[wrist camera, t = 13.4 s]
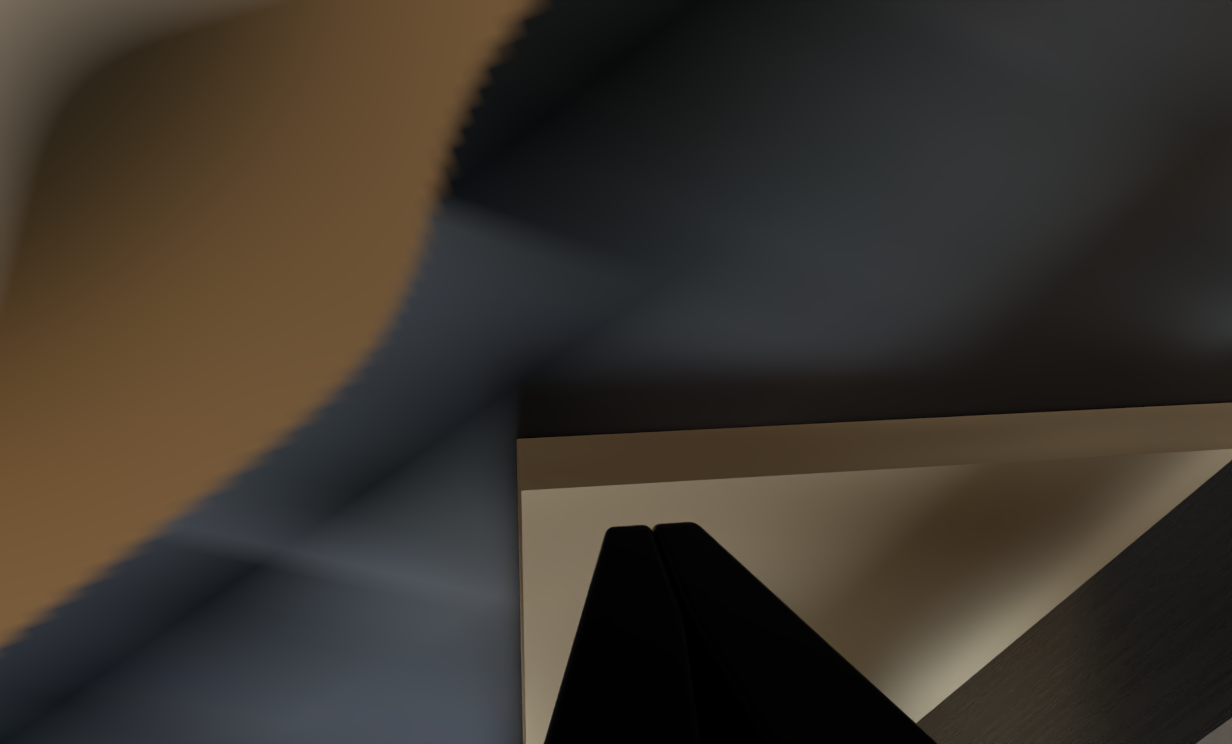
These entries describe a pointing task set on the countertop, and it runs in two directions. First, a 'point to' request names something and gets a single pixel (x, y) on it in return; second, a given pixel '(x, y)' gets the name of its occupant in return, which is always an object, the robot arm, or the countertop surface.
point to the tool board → (866, 526)
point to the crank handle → (1120, 648)
